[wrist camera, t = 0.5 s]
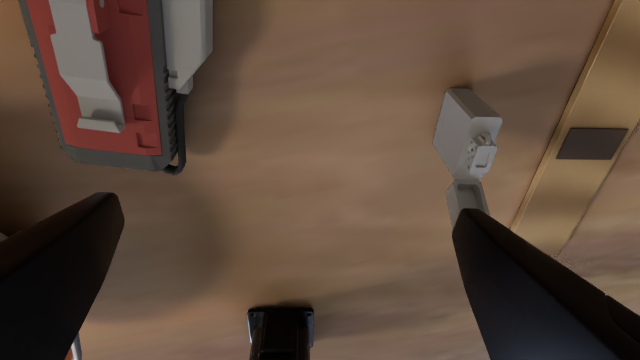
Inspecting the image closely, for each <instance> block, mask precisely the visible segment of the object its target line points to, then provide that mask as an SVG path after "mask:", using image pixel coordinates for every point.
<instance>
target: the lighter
mask: <svg viewBox="0 0 640 360" xmlns="http://www.w3.org/2000/svg"><path fill="white" fill-rule="evenodd" d="M502 122H503V120H502V118H501V117H500V116H499V115H498V114H497V113H496V112H495V111H494V110H492V109H491V108H490V107H489V106H488V105H487V104H486V103H485V102H484V101H483V100H482V99H481V98H480V97H479V96H478V95H476V94H475V93H474V92H473V91H472V90H471V89H460V88H449V89H447V90H446V92H445V96H444V100H443V104H442V107H441V111H440V115H439V119H438V123H437V127H436V130H435V134H434V138H433V142H432V143H433V145H434V147H435V148H436V150H437V152H438V153H439V155H440V157H441V158H442V160H443V162H444V163H445V165H446V166H447V168H448V170H449V171H450V173H451V175H452V176H453V178H454V179H455V181H454V182H453V183H452V184H451V185H450V187H449V188H448V189H447V191H446V192H445V194H446V199H447V204H448V209H449V214H450V219H451V224H452V229H453V228H454V225H455V223H456V220H457V218H458V215H459V213H460V211H461V210H462V209H463V208H477V209H480V210H481V211H483V212H484V213H486V214H487V215H489V216H490V214H489V210H488V206H487V203H486V199H485V195H484V191H483V187H482V184H481V182H480V181H478V180H479V179H481V178H482V175H483V174H487V173H488V172H489V169H490V167H491V164H492V162H493V159H494V156H495V154H496V151H497V149H498V147H497V146H496V144H495V140H496V138H497V135H498V132H499V130H500V127H501V124H502Z"/></svg>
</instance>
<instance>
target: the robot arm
mask: <svg viewBox="0 0 640 360" xmlns="http://www.w3.org/2000/svg"><path fill="white" fill-rule="evenodd" d="M124 222H125V220H124V215H123V212H122V208H121V205H120V202H119V199H118V196H117V195H116V194H115V193H110V192H97V193H95V194H93V195H91V196H89V197H87V198H85V199H83V200H81V201H79V202H77V203H75V204H73V205H71V206H69V207H67V208H65V209H63V210H61V211H59V212H57V213H56V214H54V215H52V216H50V217H48V218H46V219H44V220H42V221H40V222H38V223H36V224H34V225H32V226H30V227H28V228H26V229H24V230H22V231H20V232H18V233H16V234H14V235H12V236H10V237H8V238H7V239H5V240H3V241H1V242H0V360H65V358H66V356H67V354H68V352H69V350H70V348H71V346H72V344H73V342H74V340H75V338H76V336H77V334H78V332H79V330H80V328H81V326H82V324H83V322H84V320H85V318H86V316H87V314H88V312H89V310H90V308H91V306H92V304H93V302H94V300H95V298H96V296H97V294H98V292H99V290H100V288H101V286H102V284H103V281H104V279H105V277H106V274H107V272H108V269H109V266H110V264H111V261H112V258H113V255H114V253H115V250H116V247H117V244H118V241H119V239H120V236H121V233H122V230H123V227H124ZM452 239H453V244H454V248H455V252H456V256H457V260H458V264H459V268H460V272H461V276H462V280H463V284H464V288H465V291H466V294H467V297H468V299H469V302H470V305H471V307H472V310H473V313H474V316H475V318H476V321H477V324H478V326H479V329H480V332H481V335H482V337H483V340H484V343H485V345H486V348H487V351H488V354H489V356H490V359H491V360H640V316H639V315H637V314H636V313H634V312H633V311H631V310H630V309H628V308H626V307H625V306H623V305H622V304H620V303H619V302H618V301H616V300H615V299H613V298H612V297H610V296H608V295H606V296H605V293H604V292H602V291H601V290H599V289H598V288H596V287H595V286H593V285H592V284H590V283H589V282H587V281H586V280H584V279H583V278H581V277H580V276H578V275H577V274H575V273H574V272H572V271H571V270H569V269H568V268H567V267H565V266H564V265H562V264H561V263H559V262H558V261H556V260H555V259H553V258H552V257H550V256H549V255H547V254H546V253H544V252H543V251H541V250H540V249H538V248H537V247H535V246H534V245H532V244H531V243H529V242H528V241H526V240H525V239H523V238H522V237H520V236H519V235H517V234H516V233H514V232H513V231H511V230H510V229H508V228H507V227H505V226H504V225H502V224H501V223H499V222H498V221H496V220H495V219H493V218H492V217H490V216H489V215H487V214H486V213H484V212H483V211H481V210H480V209H477V208H463V209H462V210H461V211H460V213H459V215H458V218H457V220H456V223H455V225H454V228H453V231H452ZM247 318H248V325H249V332H250V339H251V351H250V359H249V360H310V348H311V347H313V329H314V310H313V309H312V308H252V309H249V310H248V313H247Z"/></svg>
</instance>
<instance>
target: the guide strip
mask: <svg viewBox="0 0 640 360" xmlns="http://www.w3.org/2000/svg"><path fill="white" fill-rule="evenodd" d="M639 119H640V0H615V1H614V3H613V5H612V7H611V9H610V12H609V14H608V16H607V18H606V20H605V23H604V25H603V27H602V29H601V31H600V34H599V36H598V38H597V40H596V42H595V44H594V47H593V49H592V51H591V53H590V55H589V58H588V60H587V62H586V64H585V66H584V69H583V71H582V73H581V75H580V77H579V80H578V82H577V84H576V86H575V88H574V91H573V93H572V95H571V97H570V99H569V102H568V104H567V106H566V108H565V110H564V112H563V115H562V117H561V119H560V121H559V123H558V126H557V128H556V130H555V132H554V134H553V137H552V139H551V141H550V143H549V145H548V148H547V150H546V152H545V154H544V156H543V159H542V161H541V163H540V165H539V167H538V169H537V172H536V174H535V176H534V178H533V180H532V183H531V185H530V187H529V189H528V191H527V194H526V196H525V198H524V200H523V202H522V205H521V207H520V209H519V211H518V213H517V216H516V218H515V220H514V222H513V224H512V227H511V229H510V230H511V231H513V232H514V233H516V234H517V235H519V236H520V237H522V238H523V239H525V240H526V241H528V242H529V243H531V244H532V245H534V246H535V247H537V248H538V249H540V250H541V251H543V252H544V253H546V254H547V255H559V254H560V252H561V251H562V249H563V247H564V245H565V244H566V242H567V240H568V239H569V237H570V235H571V234H572V232H573V230H574V229H575V227H576V225H577V224H578V222H579V220H580V219H581V217H582V215H583V214H584V212H585V210H586V209H587V207H588V205H589V203H590V202H591V200H592V198H593V197H594V195H595V193H596V192H597V190H598V188H599V187H600V185H601V183H602V182H603V180H604V178H605V177H606V175H607V173H608V172H609V170H610V168H611V167H612V165H613V163H614V161H615V160H616V158H617V156H618V155H619V153H620V151H621V150H622V148H623V146H624V145H625V143H626V141H627V140H628V138H629V136H630V135H631V133H632V131H633V130H634V128H635V126H636V124H637V123H638V121H639Z"/></svg>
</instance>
